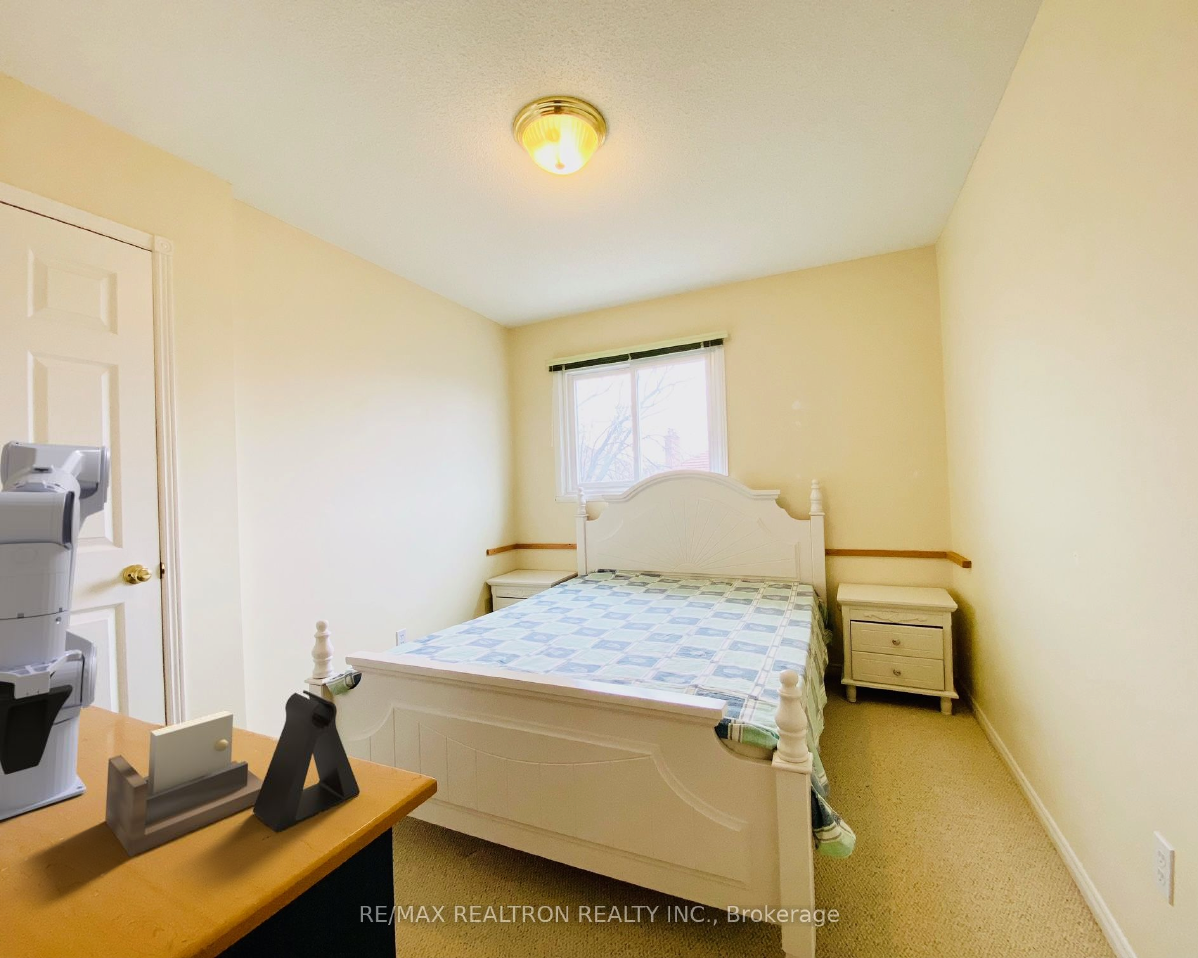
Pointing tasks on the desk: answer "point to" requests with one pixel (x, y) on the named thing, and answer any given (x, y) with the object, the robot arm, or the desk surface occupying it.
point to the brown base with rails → (173, 803)
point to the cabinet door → (189, 750)
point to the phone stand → (305, 766)
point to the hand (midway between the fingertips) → (15, 757)
